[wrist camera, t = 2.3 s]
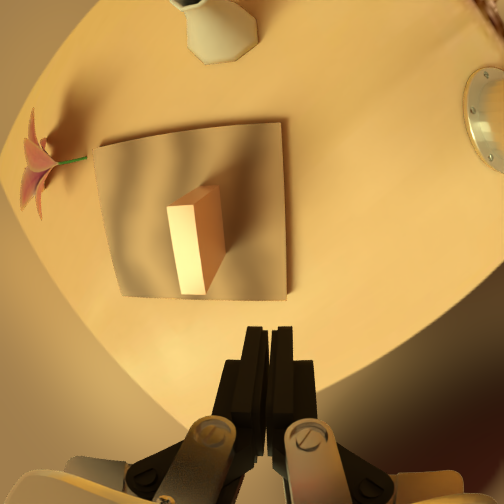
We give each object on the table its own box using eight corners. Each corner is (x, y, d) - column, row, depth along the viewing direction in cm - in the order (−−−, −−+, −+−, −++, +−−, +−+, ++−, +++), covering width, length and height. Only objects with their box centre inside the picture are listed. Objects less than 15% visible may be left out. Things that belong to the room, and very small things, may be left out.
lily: (73, 93, 26) (3, 108, 19) (108, 133, 23) (15, 156, 16) (65, 170, 34) (7, 189, 27) (97, 221, 31) (28, 249, 24)
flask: (201, 77, 24) (159, 51, 15) (177, 24, 21) (131, -14, 12) (271, 48, 22) (262, 6, 13) (242, -5, 20) (222, -56, 10)
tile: (219, 184, 27) (193, 204, 19) (225, 253, 29) (205, 294, 22) (197, 186, 27) (164, 206, 19) (205, 254, 29) (179, 294, 22)
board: (281, 123, 25) (280, 122, 24) (286, 294, 32) (286, 300, 30) (98, 148, 27) (92, 149, 26) (126, 291, 34) (121, 296, 33)
